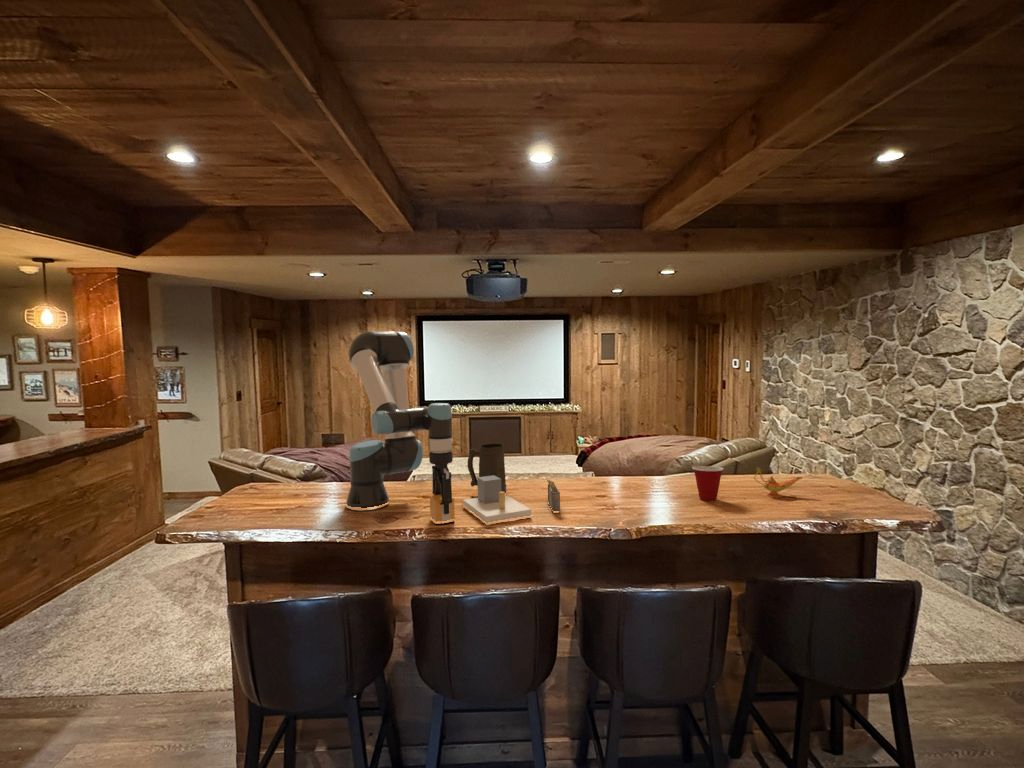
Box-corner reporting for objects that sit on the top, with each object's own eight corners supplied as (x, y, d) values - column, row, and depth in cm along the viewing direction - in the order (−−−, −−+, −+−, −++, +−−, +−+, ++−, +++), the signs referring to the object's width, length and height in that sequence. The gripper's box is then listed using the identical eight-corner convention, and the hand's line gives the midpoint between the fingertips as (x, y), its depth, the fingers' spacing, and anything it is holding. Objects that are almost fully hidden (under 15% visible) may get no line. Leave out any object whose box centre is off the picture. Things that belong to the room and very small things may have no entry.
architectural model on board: (546, 505, 186) (546, 478, 186) (555, 505, 187) (554, 478, 186) (551, 514, 175) (550, 486, 175) (560, 514, 175) (559, 486, 175)
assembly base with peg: (463, 508, 183) (462, 477, 183) (504, 501, 190) (503, 472, 190) (486, 525, 163) (485, 491, 163) (531, 518, 170) (530, 485, 170)
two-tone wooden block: (430, 519, 171) (429, 495, 170) (448, 516, 173) (448, 493, 173) (435, 525, 165) (435, 500, 164) (454, 522, 167) (454, 498, 167)
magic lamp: (808, 497, 187) (808, 467, 187) (758, 498, 188) (758, 468, 187) (797, 492, 194) (797, 464, 194) (749, 493, 194) (750, 464, 194)
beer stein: (510, 491, 205) (505, 441, 204) (507, 498, 194) (502, 446, 193) (472, 493, 206) (467, 444, 205) (467, 501, 196) (462, 449, 195)
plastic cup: (718, 495, 193) (718, 463, 192) (727, 503, 182) (727, 470, 182) (688, 495, 194) (688, 463, 194) (696, 503, 183) (696, 470, 183)
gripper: (461, 454, 160) (463, 527, 162) (443, 445, 178) (444, 510, 179) (438, 456, 157) (440, 530, 159) (421, 447, 175) (423, 513, 176)
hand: (442, 520), depth 169 cm, fingers closed on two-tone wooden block, 6 cm apart
